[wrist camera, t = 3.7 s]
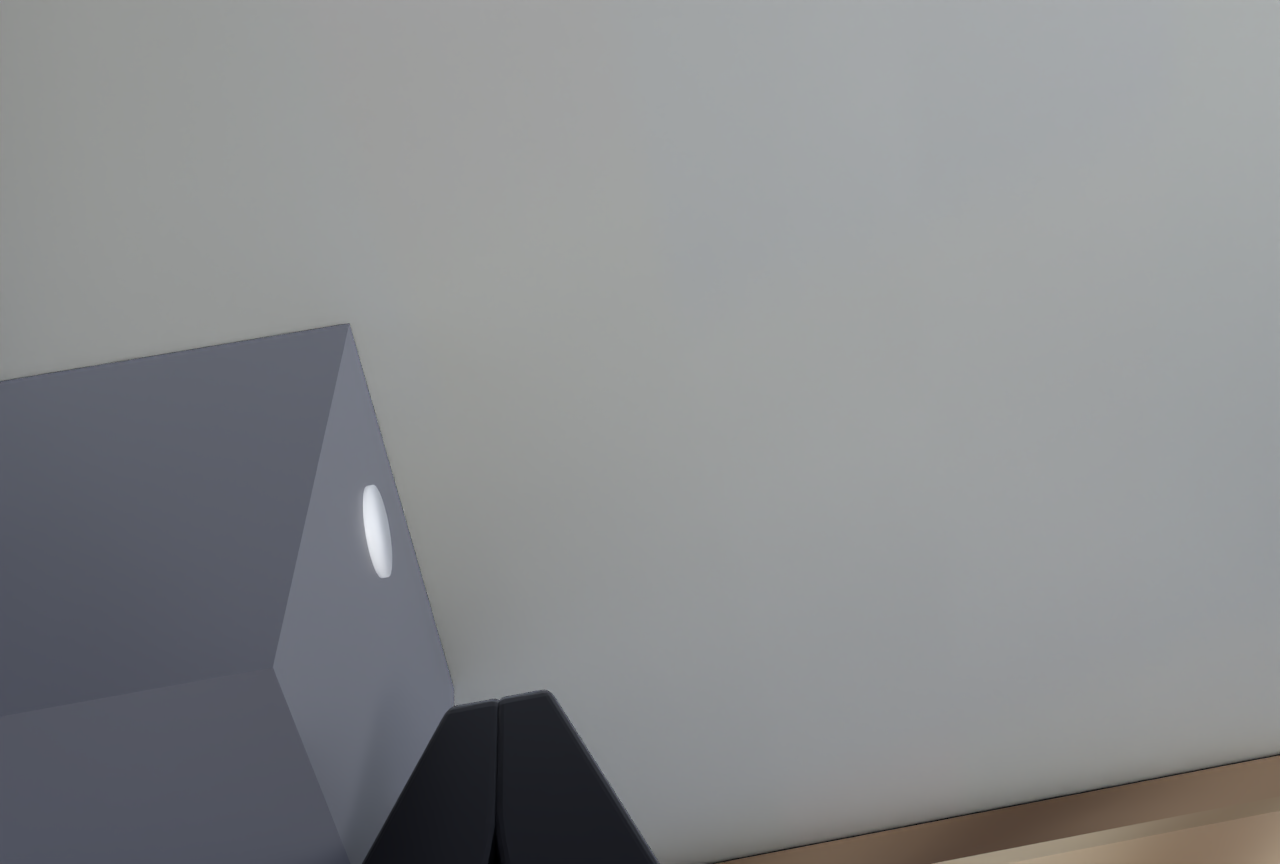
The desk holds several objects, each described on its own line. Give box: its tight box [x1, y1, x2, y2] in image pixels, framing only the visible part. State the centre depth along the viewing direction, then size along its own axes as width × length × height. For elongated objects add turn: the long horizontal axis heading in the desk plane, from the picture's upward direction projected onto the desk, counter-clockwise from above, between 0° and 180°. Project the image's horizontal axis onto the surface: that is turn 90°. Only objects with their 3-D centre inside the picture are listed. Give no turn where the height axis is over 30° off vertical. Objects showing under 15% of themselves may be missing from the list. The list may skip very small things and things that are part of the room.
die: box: [0, 324, 454, 864], centre depth 9 cm, size 4×4×4 cm
